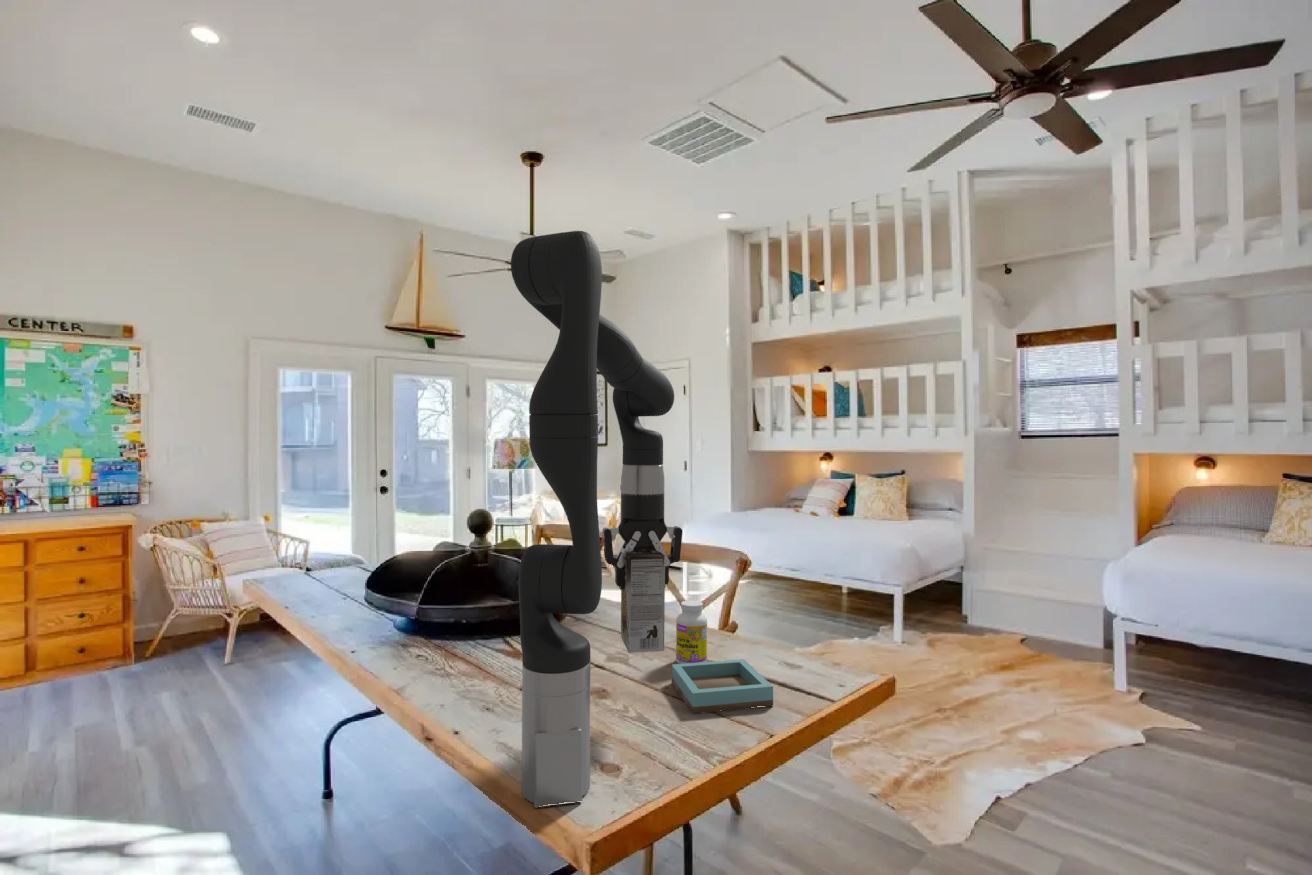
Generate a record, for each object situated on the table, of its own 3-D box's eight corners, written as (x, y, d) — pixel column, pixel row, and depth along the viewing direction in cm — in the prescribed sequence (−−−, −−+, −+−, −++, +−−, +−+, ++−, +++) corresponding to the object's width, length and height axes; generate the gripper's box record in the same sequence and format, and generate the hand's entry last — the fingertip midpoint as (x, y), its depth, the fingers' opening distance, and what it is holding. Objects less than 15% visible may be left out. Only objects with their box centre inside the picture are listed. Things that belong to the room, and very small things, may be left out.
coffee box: (619, 637, 116) (620, 547, 116) (655, 635, 117) (655, 546, 117) (627, 653, 107) (627, 555, 107) (665, 651, 108) (665, 554, 108)
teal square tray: (773, 706, 117) (773, 686, 117) (692, 713, 114) (692, 693, 114) (743, 676, 131) (743, 659, 131) (671, 682, 128) (671, 664, 128)
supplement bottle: (670, 664, 139) (670, 604, 139) (684, 655, 144) (684, 597, 144) (699, 670, 135) (699, 608, 136) (711, 660, 141) (712, 601, 141)
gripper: (604, 493, 107) (603, 594, 107) (688, 492, 110) (688, 590, 110) (598, 490, 114) (597, 585, 114) (677, 489, 118) (677, 581, 117)
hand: (642, 587), depth 112 cm, fingers closed on coffee box, 6 cm apart
